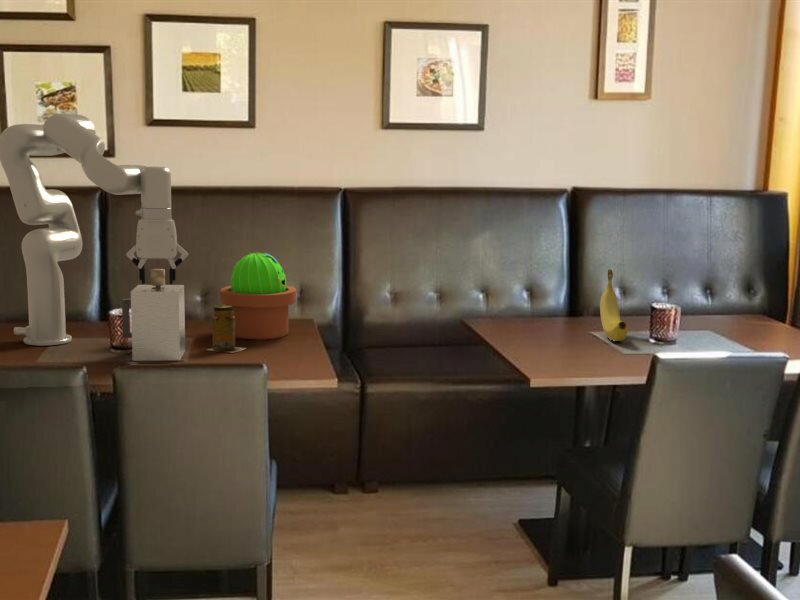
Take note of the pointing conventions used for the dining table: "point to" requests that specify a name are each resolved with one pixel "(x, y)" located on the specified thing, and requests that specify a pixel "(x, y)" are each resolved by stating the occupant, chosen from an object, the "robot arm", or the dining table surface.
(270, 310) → the potted cactus
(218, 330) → the condiment
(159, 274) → the plunger
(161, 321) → the press housing
